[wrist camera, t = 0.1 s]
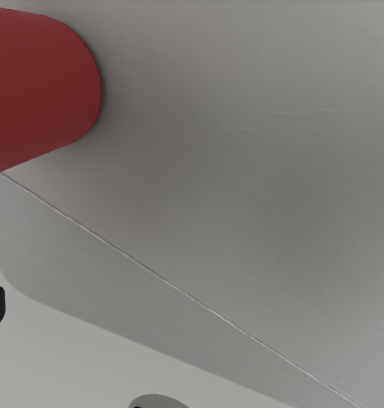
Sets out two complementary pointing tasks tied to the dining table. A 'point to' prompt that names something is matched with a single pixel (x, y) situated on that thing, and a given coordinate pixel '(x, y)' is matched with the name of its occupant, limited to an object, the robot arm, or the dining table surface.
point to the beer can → (43, 87)
